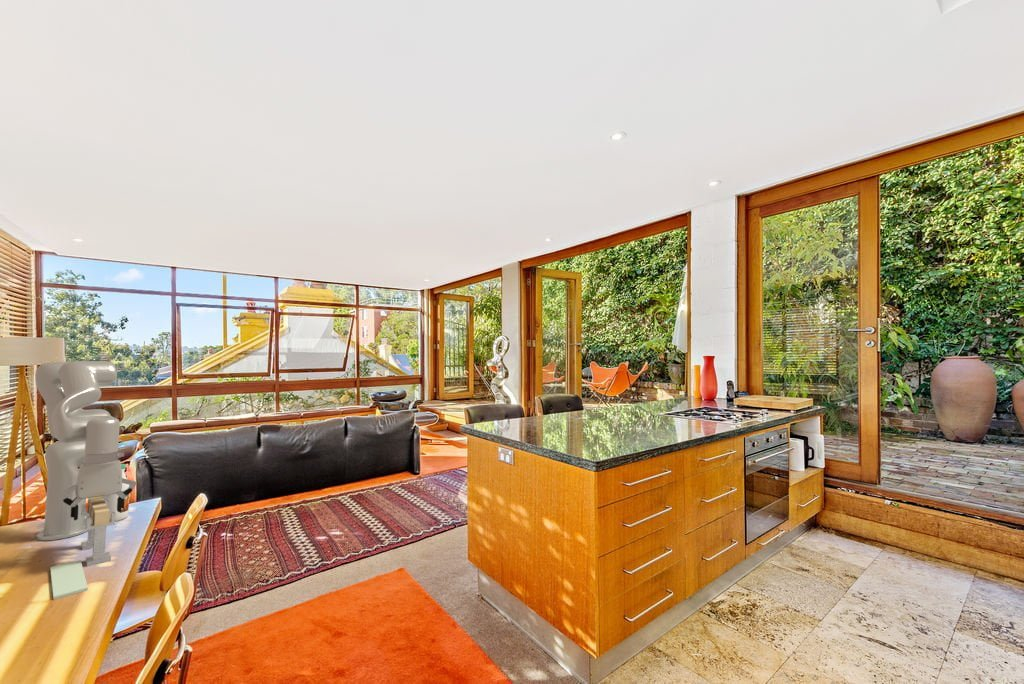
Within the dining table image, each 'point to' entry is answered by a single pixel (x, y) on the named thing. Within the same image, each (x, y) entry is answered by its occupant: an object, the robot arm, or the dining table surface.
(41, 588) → the dining table surface
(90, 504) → the rail
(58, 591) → the mat
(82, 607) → the dining table surface
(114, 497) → the milk bottle
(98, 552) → the post
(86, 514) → the post
